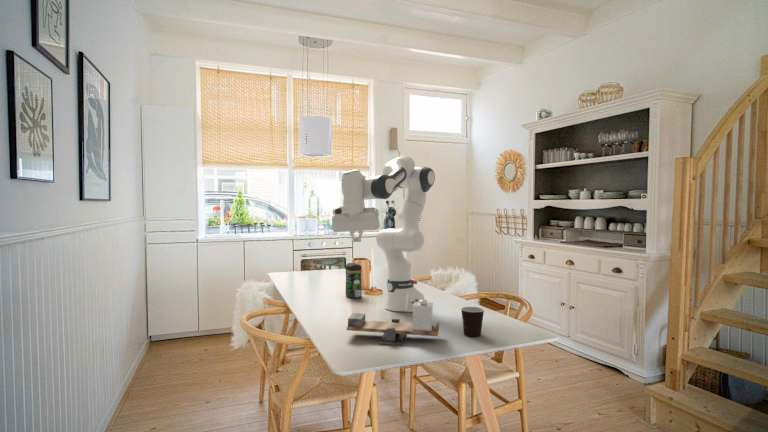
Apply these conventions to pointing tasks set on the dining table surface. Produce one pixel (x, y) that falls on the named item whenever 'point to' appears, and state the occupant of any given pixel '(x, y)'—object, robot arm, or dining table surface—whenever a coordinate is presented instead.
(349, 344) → the dining table surface
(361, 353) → the dining table surface
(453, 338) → the dining table surface
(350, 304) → the dining table surface
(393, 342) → the fulcrum
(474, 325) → the coffee mug
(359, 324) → the beam
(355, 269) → the coffee jar
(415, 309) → the block
